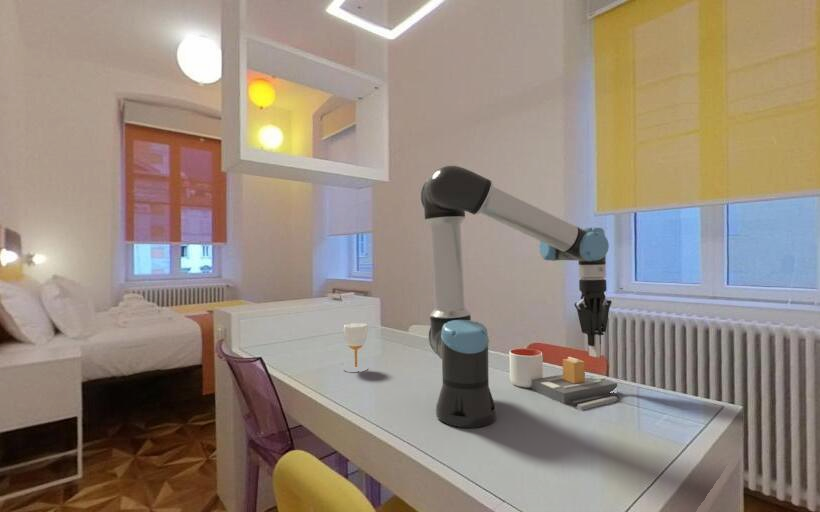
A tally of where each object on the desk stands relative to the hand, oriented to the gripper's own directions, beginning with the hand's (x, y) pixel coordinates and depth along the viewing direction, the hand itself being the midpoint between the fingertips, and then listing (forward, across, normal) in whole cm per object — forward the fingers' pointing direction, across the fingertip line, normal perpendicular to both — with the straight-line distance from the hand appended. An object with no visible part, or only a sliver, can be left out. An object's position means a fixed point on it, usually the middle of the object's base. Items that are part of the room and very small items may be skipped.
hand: (594, 356), depth 121 cm
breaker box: (+9, -8, 0) cm, 13 cm away
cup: (+10, -16, +12) cm, 22 cm away
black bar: (+10, -10, -8) cm, 16 cm away
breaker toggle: (+6, -8, 0) cm, 10 cm away
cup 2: (+9, -61, +51) cm, 80 cm away
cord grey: (+10, -10, -10) cm, 18 cm away
